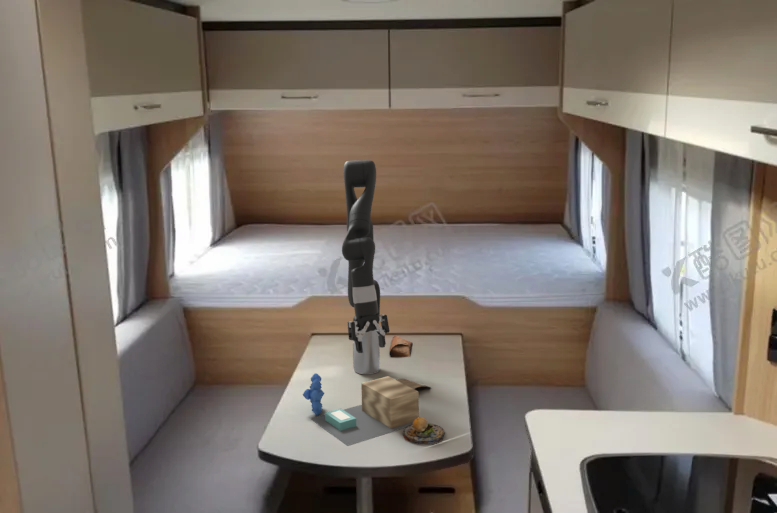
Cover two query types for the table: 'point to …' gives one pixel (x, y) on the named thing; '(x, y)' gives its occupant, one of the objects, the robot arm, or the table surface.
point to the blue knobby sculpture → (315, 394)
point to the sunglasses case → (400, 347)
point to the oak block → (390, 401)
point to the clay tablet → (410, 383)
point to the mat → (358, 427)
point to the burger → (423, 432)
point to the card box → (340, 419)
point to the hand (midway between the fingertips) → (371, 350)
